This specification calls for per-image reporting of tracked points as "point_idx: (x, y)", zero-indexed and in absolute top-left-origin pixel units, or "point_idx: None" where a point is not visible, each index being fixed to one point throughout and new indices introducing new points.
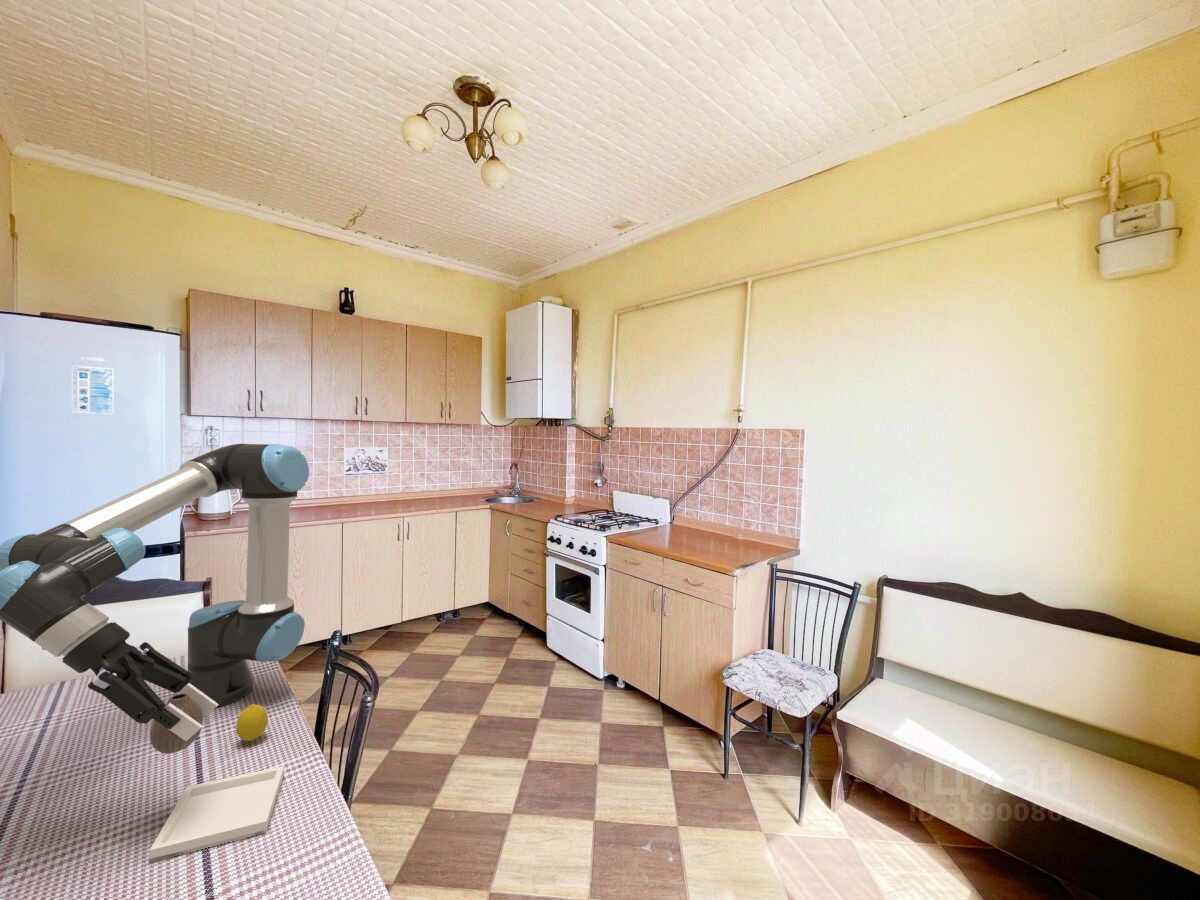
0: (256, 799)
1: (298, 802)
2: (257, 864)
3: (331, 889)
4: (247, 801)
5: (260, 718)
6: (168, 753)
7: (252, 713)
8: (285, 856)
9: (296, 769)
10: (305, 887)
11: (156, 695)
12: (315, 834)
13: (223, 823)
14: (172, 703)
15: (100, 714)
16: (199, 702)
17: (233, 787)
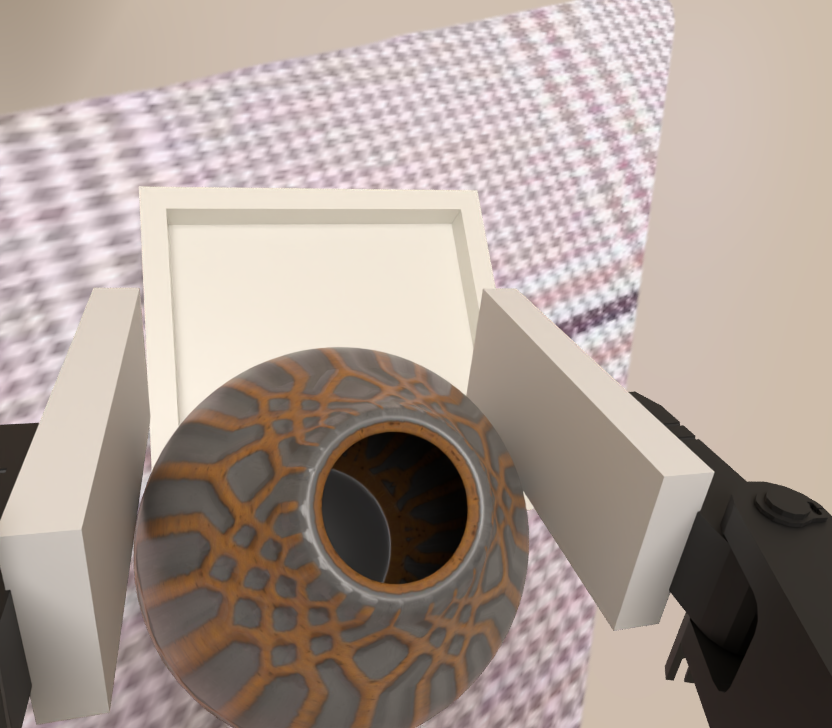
0: (296, 267)
1: (336, 143)
2: (575, 209)
3: (669, 51)
4: (298, 296)
5: None
6: (394, 551)
7: None
8: (561, 149)
9: (107, 172)
10: (657, 98)
11: (821, 638)
12: (497, 88)
13: (405, 340)
14: (492, 530)
15: None
16: (132, 417)
17: (180, 375)
